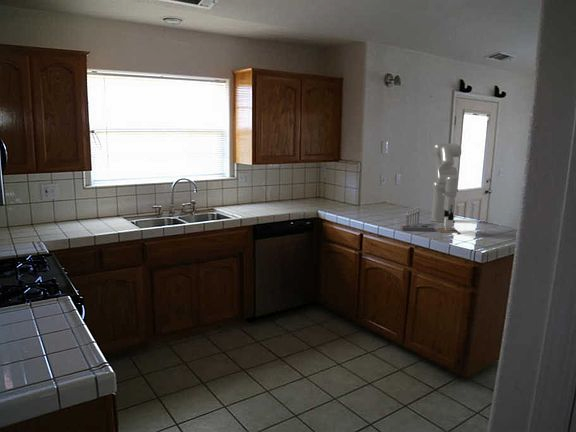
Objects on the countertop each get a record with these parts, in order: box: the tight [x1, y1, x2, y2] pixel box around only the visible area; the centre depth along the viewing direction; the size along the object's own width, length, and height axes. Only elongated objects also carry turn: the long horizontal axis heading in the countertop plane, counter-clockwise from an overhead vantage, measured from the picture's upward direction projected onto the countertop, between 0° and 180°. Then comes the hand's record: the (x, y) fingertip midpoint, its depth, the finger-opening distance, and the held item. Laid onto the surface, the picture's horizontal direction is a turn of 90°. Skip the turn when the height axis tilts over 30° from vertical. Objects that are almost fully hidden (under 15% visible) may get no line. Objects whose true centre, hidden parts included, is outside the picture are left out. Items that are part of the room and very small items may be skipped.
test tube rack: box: [402, 206, 424, 225], centre depth 324 cm, size 25×4×13 cm, turn 141°
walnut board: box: [435, 227, 461, 235], centre depth 309 cm, size 13×13×1 cm
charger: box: [443, 217, 454, 231], centre depth 308 cm, size 4×4×10 cm
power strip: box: [400, 224, 436, 232], centre depth 310 cm, size 7×22×4 cm, turn 86°
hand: (448, 218), depth 307 cm, fingers open, 9 cm apart
